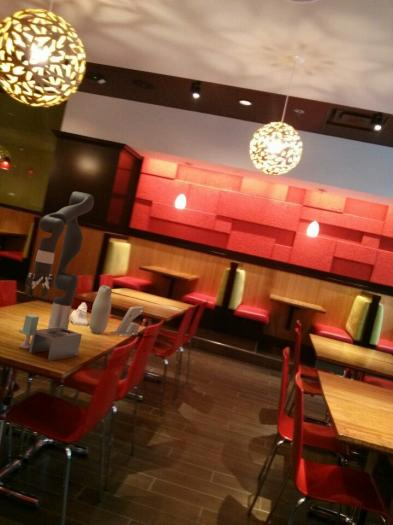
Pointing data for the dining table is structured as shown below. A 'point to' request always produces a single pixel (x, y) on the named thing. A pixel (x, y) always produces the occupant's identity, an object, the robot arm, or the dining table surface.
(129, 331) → the phone holder
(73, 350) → the grey open box
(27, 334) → the boxy toy figurine
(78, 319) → the soft serve ice cream
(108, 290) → the grey vase
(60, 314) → the robot arm
